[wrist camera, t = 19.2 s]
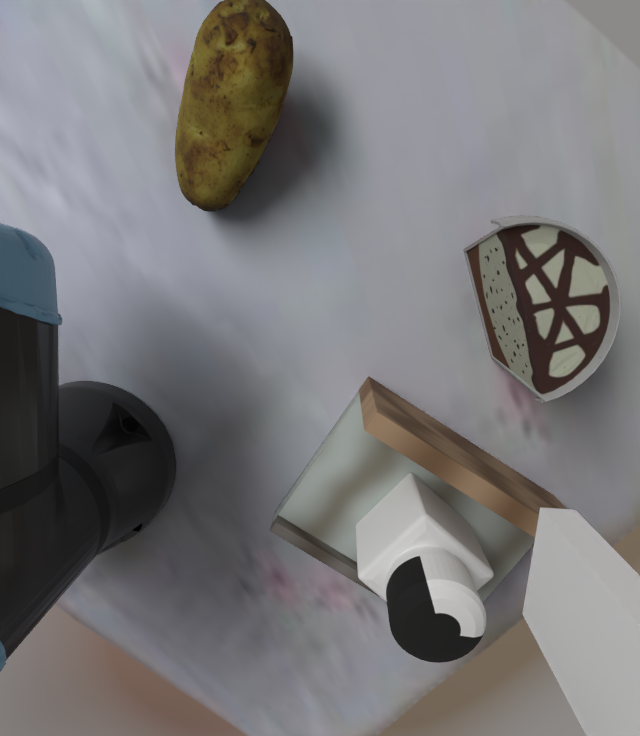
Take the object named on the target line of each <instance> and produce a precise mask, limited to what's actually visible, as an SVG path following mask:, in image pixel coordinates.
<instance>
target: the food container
mask: <svg viewBox="0 0 640 736" xmlns="http://www.w3.org/2000/svg"><path fill="white" fill-rule="evenodd" d="M491 223H494V224H497V225H499V228H497V229H495V230H494V231H492V232H491V233H489V234H488V235H486V236H484V237H483V238H481V239H480V240H478V241H476V242H475V243H473V244H472V245H470V246H468V247H467V248H465V249H464V254H465V258H466V262H467V266H468V270H469V273H470V277H471V281H472V285H473V289H474V293H475V297H476V301H477V305H478V309H479V313H480V317H481V321H482V325H483V329H484V333H485V336H486V340H487V344H488V348H489V352H490V356H491V358H492V359H493V360H494V361H495V362H496V363H498V364H499V365H500V366H501V367H502V368H504V369H505V370H506V371H507V372H508V373H510V374H511V375H512V376H513V377H515V378H516V379H517V380H518V381H519V382H521V383H522V384H523V385H524V386H525V387H527V388H528V389H529V390H530V391H532V392H533V393H534V394H535V395H536V396H538V397H537V398H534V401H536V402H540V403H544V402H548V401H550V400H553V399H556V398H559V397H560V396H562V395H564V394H566V393H568V392H570V391H572V390H573V389H575V388H576V387H577V386H579V385H580V384H581V383H583V382H584V381H585V380H586V379H587V378H588V377H589V376H590V375H591V374H592V373H594V372H595V370H596V369H597V368H598V366H599V365H600V364H601V363H602V361H603V360H604V359H605V357H606V355H607V353H608V352H609V350H610V348H611V346H612V344H613V341H614V339H615V336H616V333H617V330H618V325H619V321H620V311H621V299H620V290H619V286H618V282H617V279H616V275H615V273H614V271H613V269H612V267H611V265H610V262H609V261H608V259H607V258H606V257H605V255H604V254H603V253H602V251H601V250H600V248H599V247H598V246H597V245H596V244H595V243H594V242H593V241H592V240H591V239H590V238H589V237H587V236H586V235H584V234H583V233H581V232H580V231H578V230H577V229H575V228H573V227H571V226H569V225H566V224H564V223H562V222H558V221H554V220H550V219H546V218H541V217H537V216H523V215H520V216H509V217H503V218H499V219H495V220H491Z"/></svg>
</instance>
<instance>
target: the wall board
mask: <svg viewBox="0 0 640 736" xmlns="http://www.w3.org/2000/svg"><path fill="white" fill-rule="evenodd" d="M409 473H412V474H414V475H415V476H416V477H418V478H419V479H420V480H421V481H422V482H423V483H424V484H426V485H427V486H428V487H429V488H430V489H431V490H432V491H434V492H435V493H436V494H437V495H438V496H439V497H440V498H441V499H443V500H444V501H445V502H446V503H447V504H448V505H449V506H451V507H452V508H453V509H454V510H455V511H456V512H457V513H459V514H460V515H461V516H462V517H463V518H464V519H465V520H467V521H468V523H469V524H470V526H471V528H472V530H473V532H474V534H475V536H476V538H477V540H478V542H479V544H480V546H481V548H482V550H483V552H484V554H485V556H486V558H487V560H488V562H489V564H490V566H491V568H492V570H493V573H494V576H493V577H492V578H491V579H490V580H489V581H488V582H487V583H486V584H484V585H483V586H482V587H481V588H480V589H479V590H477V592H478V594H479V596H480V599H481V601H482V603H483V602H484V601H485V600H486V599H487V597H488V596H489V595H490V594H491V593H492V592H493V591H494V589H495V588H496V587H497V586H498V585H499V584H500V582H501V581H502V580H503V579H504V578H505V577H506V575H507V574H508V573H509V572H510V571H511V570H512V569H513V567H514V566H515V565H516V564H517V563H518V562H519V560H520V559H521V558H522V557H523V556H524V555H525V553H526V552H527V551H528V550H529V549H530V548H531V546H532V545H533V544H534V542H535V536H536V530H537V524H538V518H539V512H540V507H542V508H556V509H566V508H565V507H564V506H563V505H562V503H561V502H560V501H559V500H558V499H557V498H556V497H555V496H554V495H552V494H551V493H549V492H548V491H546V490H544V489H543V488H541V487H540V486H538V485H537V484H535V483H534V482H532V481H530V480H529V479H527V478H526V477H524V476H523V475H521V474H519V473H518V472H516V471H515V470H513V469H512V468H510V467H509V466H507V465H505V464H504V463H502V462H501V461H499V460H498V459H496V458H495V457H493V456H491V455H490V454H488V453H487V452H485V451H484V450H482V449H481V448H479V447H477V446H476V445H474V444H473V443H471V442H470V441H468V440H467V439H465V438H463V437H462V436H460V435H459V434H457V433H456V432H454V431H453V430H451V429H449V428H448V427H446V426H445V425H443V424H442V423H440V422H439V421H437V420H435V419H434V418H432V417H431V416H429V415H428V414H426V413H425V412H423V411H421V410H420V409H418V408H417V407H415V406H414V405H412V404H411V403H409V402H407V401H406V400H404V399H403V398H401V397H400V396H398V395H396V394H395V393H393V392H392V391H390V390H389V389H387V388H386V387H384V386H382V385H381V384H379V383H378V382H376V381H375V380H373V379H372V378H370V377H368V378H367V380H366V381H365V382H364V384H363V385H362V387H361V388H360V390H359V391H358V393H357V394H356V395H355V397H354V398H353V400H352V401H351V403H350V404H349V406H348V407H347V409H346V410H345V411H344V413H343V414H342V416H341V417H340V419H339V420H338V422H337V423H336V424H335V426H334V427H333V429H332V430H331V432H330V433H329V435H328V436H327V438H326V439H325V440H324V442H323V443H322V445H321V446H320V448H319V449H318V451H317V452H316V453H315V455H314V456H313V458H312V459H311V461H310V462H309V464H308V465H307V467H306V468H305V469H304V471H303V472H302V474H301V475H300V477H299V478H298V480H297V481H296V482H295V484H294V485H293V487H292V488H291V490H290V491H289V493H288V494H287V496H286V497H285V498H284V500H283V501H282V503H281V504H280V506H279V507H278V509H277V510H276V511H275V515H274V519H273V522H272V526H271V529H270V531H271V532H273V533H275V534H276V535H278V536H279V537H281V538H283V539H284V540H286V541H288V542H289V543H291V544H293V545H294V546H296V547H298V548H299V549H301V550H303V551H304V552H306V553H308V554H309V555H311V556H313V557H314V558H316V559H318V560H319V561H321V562H323V563H324V564H326V565H328V566H329V567H331V568H333V569H334V570H336V571H338V572H339V573H341V574H343V575H344V576H346V577H348V578H349V579H351V580H353V581H354V582H356V583H358V584H359V585H361V586H363V587H364V588H366V589H368V590H369V591H371V592H373V593H374V594H376V593H375V592H374V591H373V590H371V589H370V588H369V587H368V586H367V585H365V584H364V583H363V582H362V581H361V580H360V579H359V578H358V568H357V547H356V527H355V526H356V524H357V523H358V522H359V521H360V520H361V519H362V518H363V517H364V516H365V515H366V514H367V513H368V512H369V511H370V510H371V509H372V508H373V507H375V506H376V505H377V504H378V503H379V502H380V501H381V500H382V499H383V498H384V497H385V496H386V495H387V494H388V493H389V492H390V491H391V490H392V489H393V488H394V487H395V486H396V485H397V484H398V483H399V482H400V481H401V480H403V479H404V478H405V477H406V476H407V475H408V474H409ZM376 595H378V594H376ZM378 596H379V595H378ZM379 597H380V596H379Z"/></svg>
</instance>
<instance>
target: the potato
mask: <svg viewBox="0 0 640 736" xmlns="http://www.w3.org/2000/svg"><path fill="white" fill-rule="evenodd" d="M292 68H293V41H292V36H291V35H290V32H289V29H288V27H287V25H286V23H285V21H284V20H283V18H282V17H281V15H280V14H279V13H278V12H277V11H276V10H275V9H274V8H273V7H272V6H271V5H270V4H269V3H268V2H266V1H265V0H224V1H222V2H220V3H219V4H218V5H217V6H215V8H214V9H213V10H212V11H211V12H210V14H209V15H208V16H207V18H206V19H205V20H204V22H203V23H202V25H201V27H200V30H199V32H198V34H197V37H196V41H195V45H194V50H193V53H192V56H191V60H190V64H189V67H188V71H187V75H186V79H185V84H184V91H183V96H182V101H181V105H180V109H179V115H178V123H177V130H176V144H175V161H176V170H177V177H178V181H179V185H180V188H181V191H182V193H183V195H184V196H185V198H186V199H187V200H188V201H189V202H190V203H192V205H196V206H197V207H199V208H200V209H202V210H204V211H216V210H219V209H220V210H221V209H224V208H226V207H227V206H228V205H229V204H230V203H231V202H232V201H233V200H234V199H235V198H236V196H237V194H239V192H240V189H241V188H242V186H243V185H244V182H245V180H246V178H247V177H248V176H250V175H251V174H252V173H253V172H254V170H255V168H256V166H257V164H258V163H259V159H260V157H261V155H262V153H263V151H264V149H265V148H266V146H267V144H268V142H269V141H270V137H271V135H272V133H273V131H274V129H275V127H276V125H277V123H278V121H279V118H280V116H281V113H282V110H283V106H284V101H285V97H286V93H287V90H288V86H289V82H290V78H291V74H292Z"/></svg>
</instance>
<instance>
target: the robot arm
mask: <svg viewBox="0 0 640 736" xmlns="http://www.w3.org/2000/svg"><path fill="white" fill-rule="evenodd" d="M61 324H62V317H61V316H60V315H59V314H58V308H57V292H56V277H55V266H54V261H53V258H52V256H51V254H50V252H49V250H48V249H47V247H46V246H45V245H44V244H43V243H42V242H41V241H40V240H39V239H37V238H36V237H35V236H33V235H31V234H29V233H27V232H25V231H23V230H20V229H17V228H14V227H11V226H7V225H4V224H1V223H0V671H1V670H2V669H3V667H4V665H5V664H6V662H5V661H6V660H7V658H8V657H9V656H10V655H11V654H12V653H13V651H14V650H15V649H16V648H17V647H18V646H19V644H20V643H21V642H22V641H23V640H24V638H25V637H26V636H27V635H28V634H29V633H30V631H32V629H33V628H34V627H35V626H36V625H37V624H38V622H39V621H40V620H41V619H42V618H43V616H44V615H45V614H46V613H47V612H48V611H49V610H50V608H51V607H52V606H53V605H54V604H55V603H56V602H57V600H58V599H59V598H60V597H61V596H62V595H63V593H64V592H65V591H66V590H67V589H68V588H69V586H70V585H71V584H72V583H73V582H74V581H75V579H76V578H77V577H78V576H79V575H80V574H81V573H82V571H83V570H84V569H85V568H86V567H87V565H88V564H89V563H90V562H91V561H92V560H93V558H94V557H95V556H96V555H98V554H100V553H102V552H104V551H106V550H108V549H110V548H112V547H114V546H116V545H118V544H119V543H121V542H123V541H126V540H127V539H129V538H131V537H133V536H135V535H136V534H138V533H139V532H140V531H142V530H143V529H144V528H145V527H146V526H148V525H149V524H150V522H151V521H152V520H153V519H154V518H155V517H156V515H157V514H158V513H159V511H160V510H161V509H162V507H163V506H164V505H165V503H166V502H167V500H168V498H169V496H170V494H171V491H172V488H173V485H174V481H175V474H176V460H175V453H174V449H173V445H172V442H171V440H170V437H169V435H168V433H167V431H166V429H165V427H164V425H163V424H162V422H161V421H160V419H159V418H158V417H157V416H156V414H155V413H154V412H153V411H152V410H151V409H150V408H149V407H148V406H147V405H146V404H145V403H143V402H142V401H141V400H140V399H138V398H137V397H135V396H134V395H132V394H130V393H129V392H127V391H125V390H123V389H121V388H118V387H116V386H113V385H109V384H105V383H101V382H93V381H77V382H71V383H66V384H63V385H60V386H59V376H58V325H61ZM522 614H523V616H524V618H525V620H526V622H527V624H528V626H529V628H530V630H531V632H532V634H533V635H534V637H535V639H536V641H537V643H538V645H539V647H540V649H541V651H542V652H543V655H544V656H545V658H546V660H547V662H548V664H549V666H550V668H551V669H552V672H553V674H554V676H555V677H556V679H557V681H558V683H559V685H560V687H561V689H562V691H563V693H564V695H565V697H566V698H567V700H568V702H569V704H570V706H571V708H572V710H573V712H574V714H575V716H576V718H577V719H578V721H579V723H580V725H581V727H582V729H583V731H584V733H585V735H586V736H640V576H639V575H638V573H636V571H634V570H633V568H631V566H630V565H629V564H627V562H626V561H625V560H624V559H623V558H622V557H621V556H620V555H619V554H618V553H617V552H616V551H615V550H614V549H613V548H612V547H611V546H610V545H609V544H608V543H607V542H606V541H605V540H604V539H603V538H602V537H601V536H600V535H599V533H598V532H597V531H596V530H595V529H594V528H593V527H592V526H591V525H590V524H589V523H588V522H587V521H586V520H585V519H584V518H583V517H582V516H581V515H580V514H579V513H578V512H577V511H576V510H571V509H556V508H542V507H540V512H539V518H538V524H537V530H536V536H535V542H534V548H533V553H532V559H531V565H530V571H529V577H528V583H527V589H526V595H525V601H524V607H523V613H522Z"/></svg>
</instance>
